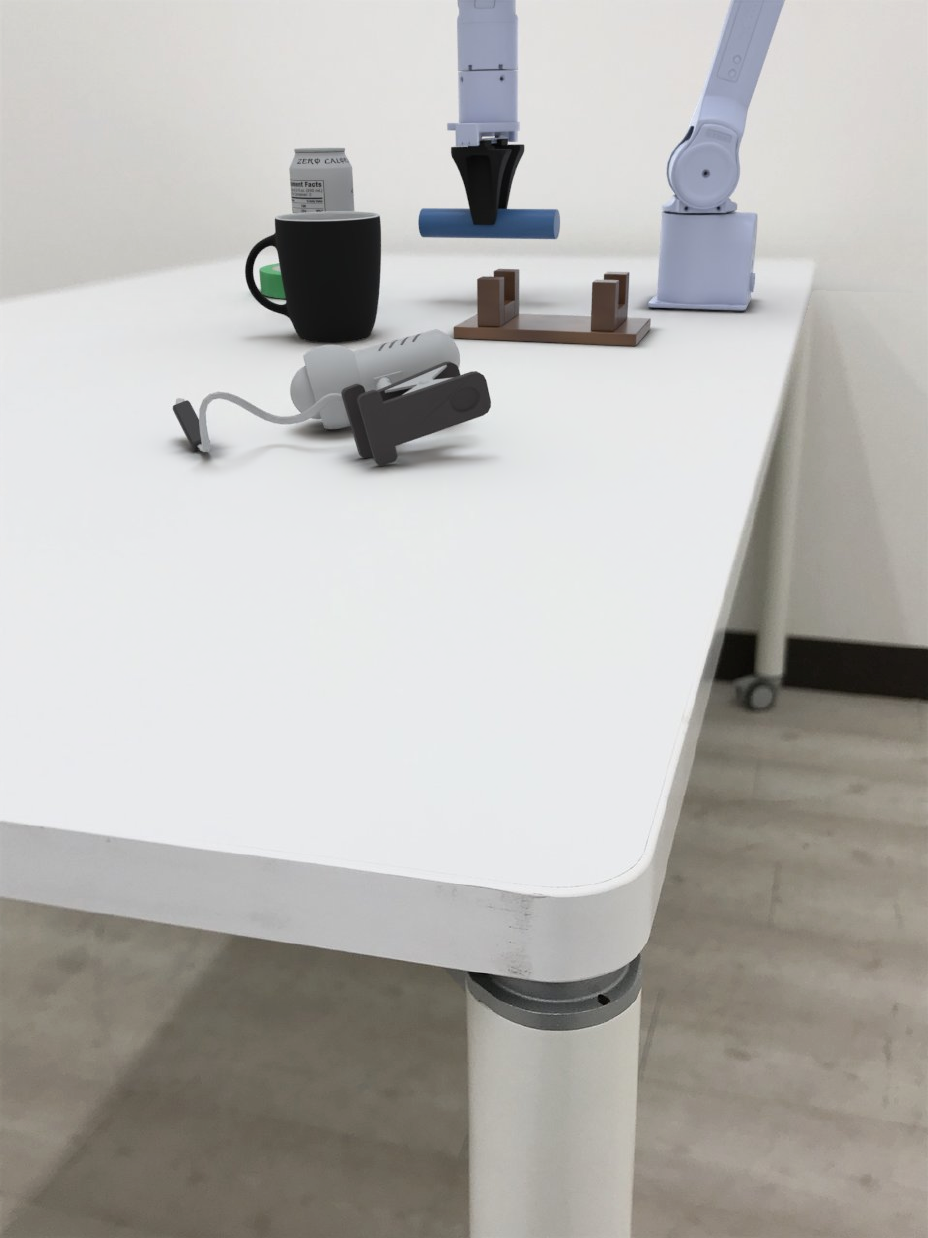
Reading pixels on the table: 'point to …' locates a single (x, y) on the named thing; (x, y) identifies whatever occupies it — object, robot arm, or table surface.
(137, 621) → the table surface
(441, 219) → the handle
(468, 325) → the holder
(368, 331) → the mug
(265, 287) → the tape roll
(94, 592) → the table surface
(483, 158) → the robot arm
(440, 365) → the clip-on lamp
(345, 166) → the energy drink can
